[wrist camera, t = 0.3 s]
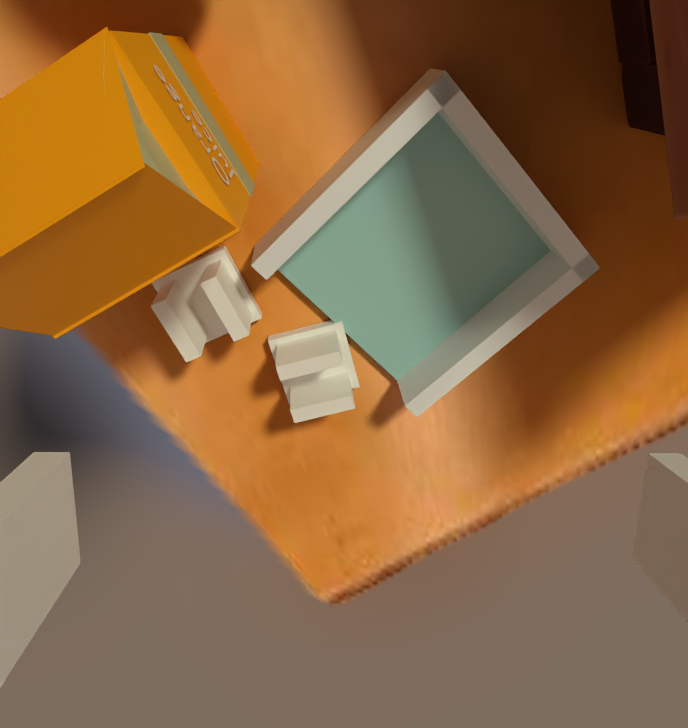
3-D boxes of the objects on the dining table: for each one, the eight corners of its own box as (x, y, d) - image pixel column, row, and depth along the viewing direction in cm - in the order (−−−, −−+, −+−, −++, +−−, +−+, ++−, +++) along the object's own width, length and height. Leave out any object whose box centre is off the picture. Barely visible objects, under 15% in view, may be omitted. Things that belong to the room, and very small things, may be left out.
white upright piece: (289, 398, 43) (288, 430, 39) (268, 335, 41) (265, 363, 37) (358, 381, 43) (364, 411, 39) (341, 317, 40) (345, 343, 37)
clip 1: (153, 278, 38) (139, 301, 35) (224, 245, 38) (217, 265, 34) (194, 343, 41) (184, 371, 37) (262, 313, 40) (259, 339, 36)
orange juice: (262, 165, 36) (229, 283, 18) (138, 240, 37) (-4, 416, 20) (181, 32, 32) (45, 14, 15) (49, 119, 34) (-221, 200, 16)
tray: (429, 68, 34) (445, 70, 30) (572, 248, 39) (600, 268, 36) (254, 245, 38) (250, 265, 34) (406, 386, 43) (417, 417, 40)
